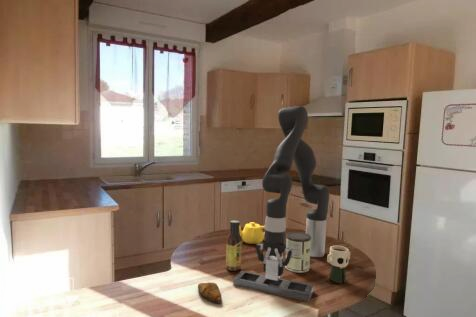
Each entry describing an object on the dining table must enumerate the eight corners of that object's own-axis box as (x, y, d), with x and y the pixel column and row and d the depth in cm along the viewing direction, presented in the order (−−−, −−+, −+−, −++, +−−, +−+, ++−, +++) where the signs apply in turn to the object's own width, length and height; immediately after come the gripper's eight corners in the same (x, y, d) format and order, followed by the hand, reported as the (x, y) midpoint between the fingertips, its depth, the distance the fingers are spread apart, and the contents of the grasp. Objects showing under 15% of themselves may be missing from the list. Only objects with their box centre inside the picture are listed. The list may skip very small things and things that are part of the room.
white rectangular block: (268, 273, 125) (269, 255, 124) (280, 275, 123) (281, 257, 123) (265, 278, 121) (266, 259, 120) (277, 280, 119) (278, 261, 119)
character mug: (332, 286, 125) (334, 253, 124) (320, 279, 132) (322, 246, 131) (354, 282, 130) (356, 250, 129) (342, 275, 136) (344, 244, 135)
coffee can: (287, 261, 149) (288, 230, 148) (310, 265, 145) (312, 233, 144) (282, 270, 139) (284, 237, 138) (307, 274, 136) (309, 240, 135)
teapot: (234, 241, 174) (234, 222, 173) (250, 235, 184) (250, 217, 184) (255, 247, 165) (255, 228, 165) (270, 241, 176) (271, 222, 175)
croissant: (228, 302, 112) (229, 287, 111) (211, 307, 108) (212, 293, 107) (207, 286, 123) (207, 273, 122) (191, 291, 119) (191, 277, 118)
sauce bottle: (239, 272, 135) (240, 224, 134) (224, 270, 137) (225, 222, 135) (242, 266, 142) (243, 220, 140) (227, 264, 143) (229, 218, 141)
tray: (241, 276, 131) (241, 270, 131) (313, 291, 121) (313, 285, 121) (233, 285, 124) (233, 278, 124) (309, 301, 113) (309, 294, 113)
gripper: (297, 228, 121) (294, 274, 123) (259, 223, 127) (257, 266, 128) (292, 234, 115) (289, 282, 116) (253, 228, 120) (251, 274, 121)
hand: (273, 273), depth 122 cm, fingers closed on white rectangular block, 4 cm apart
